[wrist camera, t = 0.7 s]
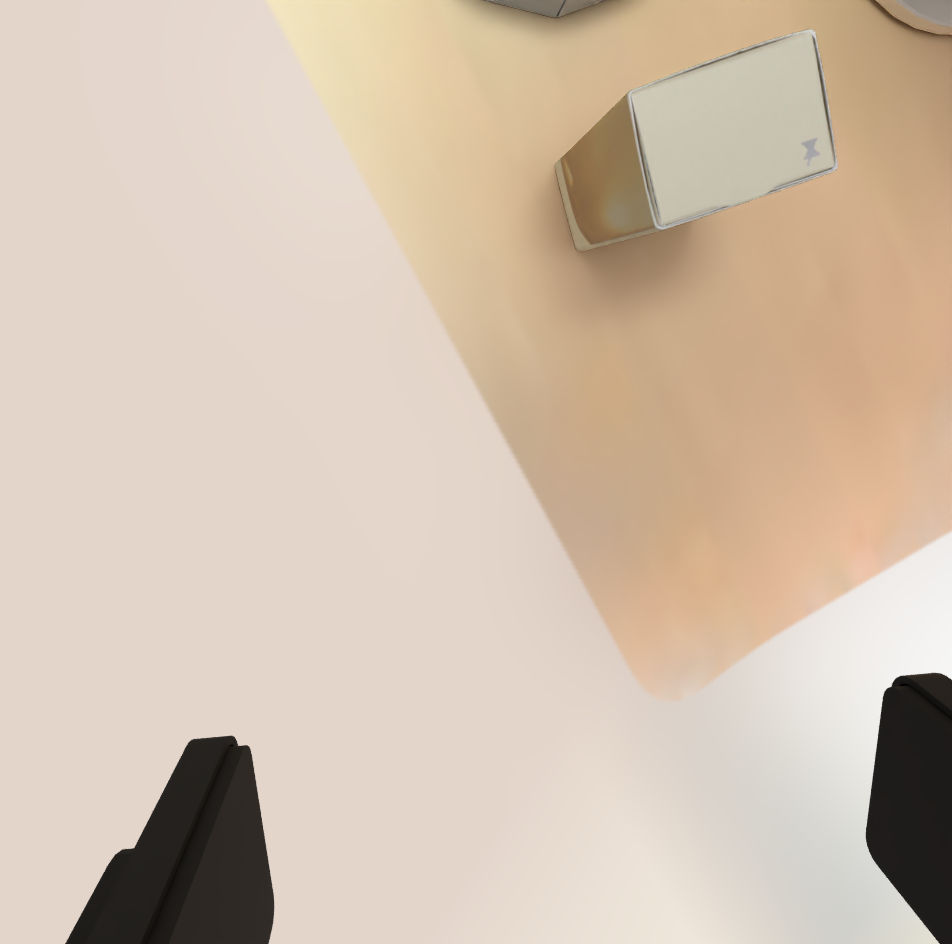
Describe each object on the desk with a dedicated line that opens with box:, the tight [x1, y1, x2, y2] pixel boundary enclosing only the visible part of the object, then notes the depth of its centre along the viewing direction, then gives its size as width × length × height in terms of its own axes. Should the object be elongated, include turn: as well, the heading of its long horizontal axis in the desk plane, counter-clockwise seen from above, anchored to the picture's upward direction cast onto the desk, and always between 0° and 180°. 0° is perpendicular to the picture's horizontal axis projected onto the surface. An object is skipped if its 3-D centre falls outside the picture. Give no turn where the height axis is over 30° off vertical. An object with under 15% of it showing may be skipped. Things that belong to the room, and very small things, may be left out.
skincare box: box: [555, 29, 838, 251], centre depth 27 cm, size 6×4×12 cm
